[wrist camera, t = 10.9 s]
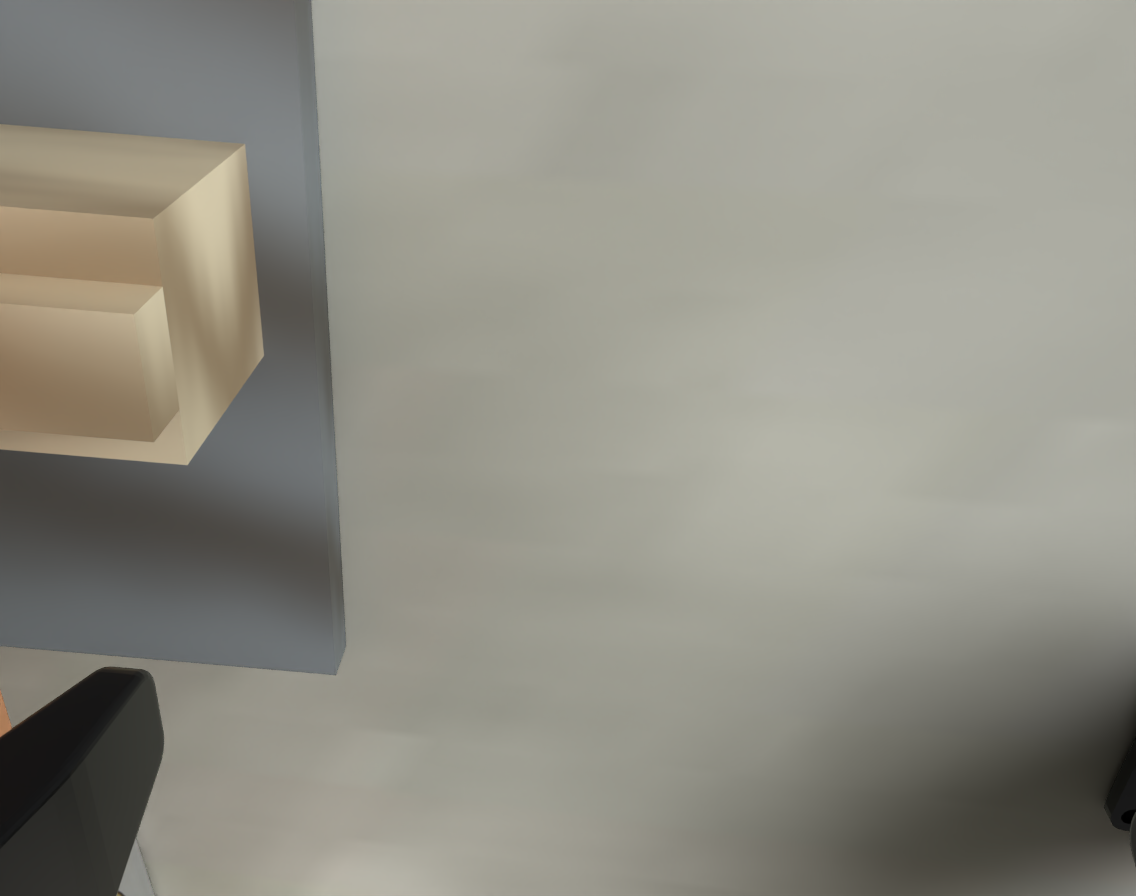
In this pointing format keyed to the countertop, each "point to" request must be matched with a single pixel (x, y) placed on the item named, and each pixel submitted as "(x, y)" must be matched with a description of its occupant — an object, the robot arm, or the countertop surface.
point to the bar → (4, 718)
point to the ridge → (165, 336)
